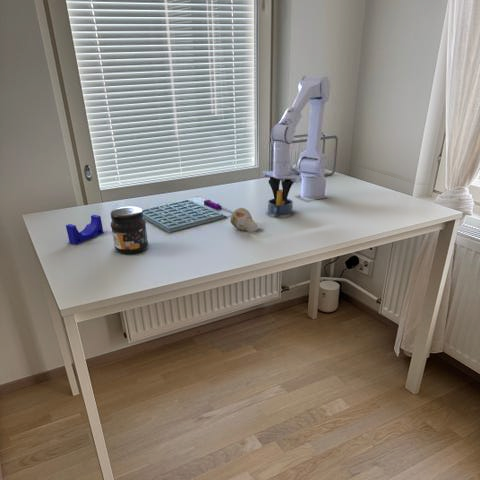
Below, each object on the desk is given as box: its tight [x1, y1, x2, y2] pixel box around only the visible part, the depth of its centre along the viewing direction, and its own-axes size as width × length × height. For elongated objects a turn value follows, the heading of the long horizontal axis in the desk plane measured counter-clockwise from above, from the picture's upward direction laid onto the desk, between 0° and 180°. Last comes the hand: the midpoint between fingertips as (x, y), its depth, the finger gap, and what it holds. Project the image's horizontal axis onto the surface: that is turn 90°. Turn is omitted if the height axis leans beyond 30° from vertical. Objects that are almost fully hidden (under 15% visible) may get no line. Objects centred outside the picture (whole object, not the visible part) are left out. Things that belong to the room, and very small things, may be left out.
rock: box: [230, 207, 260, 234], centre depth 155 cm, size 8×10×10 cm
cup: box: [267, 198, 294, 218], centre depth 169 cm, size 12×9×4 cm
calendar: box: [141, 196, 227, 233], centre depth 172 cm, size 27×29×2 cm
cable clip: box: [65, 214, 104, 246], centre depth 152 cm, size 12×4×6 cm, turn 148°
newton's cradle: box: [269, 131, 339, 183], centre depth 210 cm, size 30×10×18 cm, turn 118°
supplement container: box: [110, 206, 149, 255], centre depth 141 cm, size 10×10×12 cm
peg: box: [276, 189, 285, 205], centre depth 168 cm, size 3×3×8 cm
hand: (280, 199), depth 168 cm, fingers closed on peg, 3 cm apart
